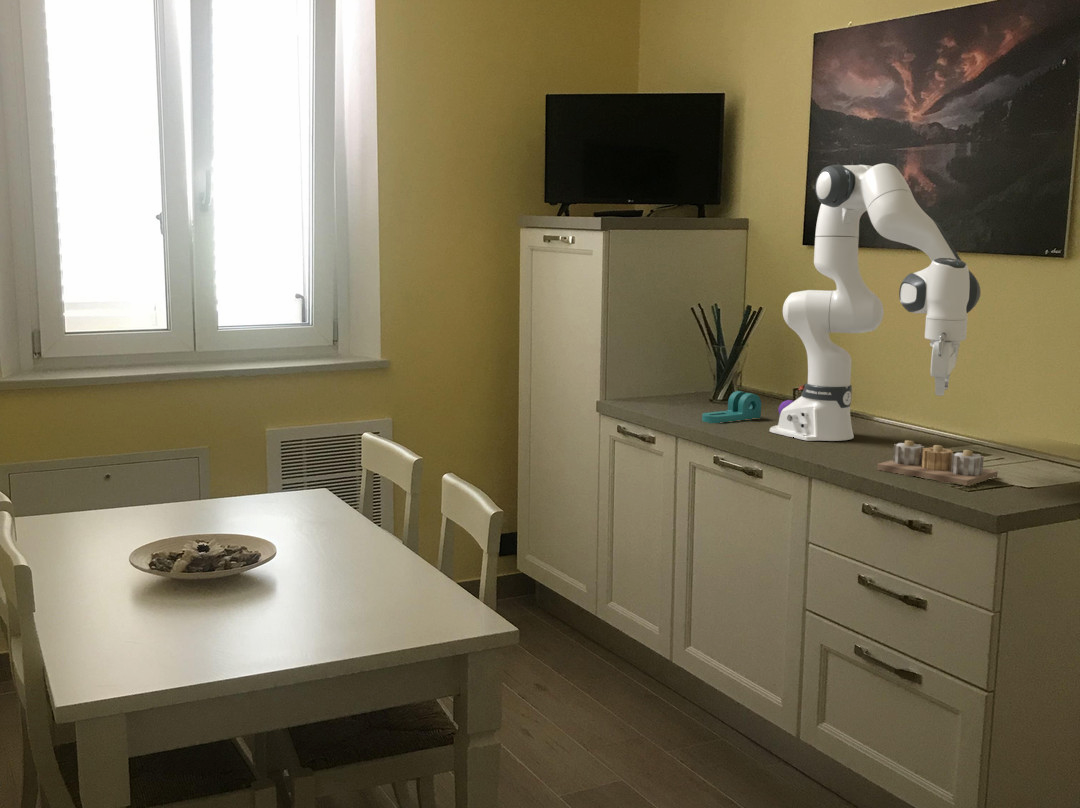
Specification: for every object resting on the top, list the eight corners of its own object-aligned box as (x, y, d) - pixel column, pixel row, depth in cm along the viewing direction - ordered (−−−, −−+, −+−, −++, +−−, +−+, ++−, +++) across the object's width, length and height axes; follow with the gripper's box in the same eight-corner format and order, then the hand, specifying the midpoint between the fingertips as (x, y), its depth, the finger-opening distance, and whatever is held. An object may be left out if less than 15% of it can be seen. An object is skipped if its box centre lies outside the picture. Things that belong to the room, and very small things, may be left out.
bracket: (745, 416, 331) (746, 390, 329) (760, 419, 325) (761, 393, 324) (697, 421, 322) (697, 394, 320) (711, 425, 316) (712, 397, 315)
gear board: (876, 470, 259) (878, 442, 258) (908, 461, 268) (910, 435, 267) (967, 487, 243) (969, 457, 242) (997, 477, 252) (999, 449, 251)
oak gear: (916, 464, 258) (917, 447, 257) (943, 463, 259) (944, 447, 258) (929, 470, 252) (930, 453, 251) (957, 470, 252) (958, 452, 252)
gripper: (956, 336, 240) (952, 400, 242) (964, 328, 258) (960, 387, 260) (925, 335, 242) (921, 397, 245) (935, 326, 261) (931, 385, 263)
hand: (941, 392), depth 253 cm, fingers open, 8 cm apart
